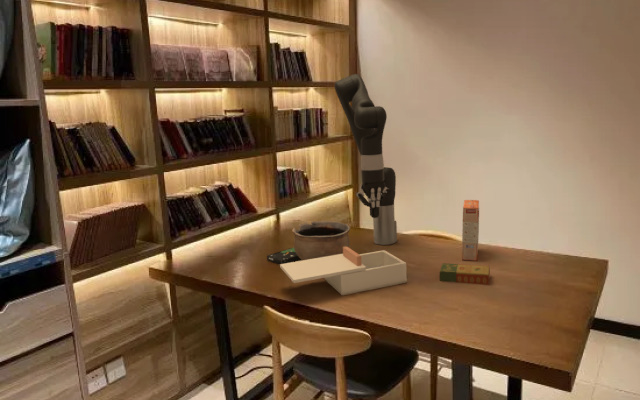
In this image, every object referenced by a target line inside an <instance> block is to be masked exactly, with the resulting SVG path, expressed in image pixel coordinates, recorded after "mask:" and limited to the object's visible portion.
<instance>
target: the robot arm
mask: <svg viewBox="0 0 640 400" xmlns="http://www.w3.org/2000/svg"><path fill="white" fill-rule="evenodd" d="M334 91H335V93H336V96H337V98H338V101H339V103H340V105H341V108H342V109H343V112H344V114H345V116H346V118H347V122H348V124H349V128H350V130H351V133H352V136H353V139H354V141H355V144H356V147H357V148H358V151H359V155H360V158H361V159H360V168H361V171H360V172H361V183H362V184H361V186H360V190H359V191H358V192H357V191H356V192H355V196H356V197H357V198H358V200H359V201H360V202H361V203H362V204H363V205H364V206H366V207H369V216H370V217H371V218H372V219H373V220H372V221H373V223H372V224H373V242H374V244H376V245H378V246H379V245H380V246H388V245H389V246H390V245H392V244H396V243H397V242H398V235H397V234H398V230H397V228H398V226H397V220H396V219H395V218H396V217H395V198H396V185H397V184H396V183H397V179H396V177H397V176H396V172H395V169H393V167H386V166H385V165H384V164H385V163H384V162H385V161H384V156H383V137H384V131H385V128H386V127H385V125H386V123H387V111H386V109H385V108H384V107H383V106H380V105H379V106H375V104H374V102H373V101H372V99H371V97H370V95H369V91H368V89H367V87H366V84H365V81H364V79H363V78H362V77H361V75H360V74H357V73H354V74H351V75H349V76H346V77H343V78H342V79H339V80H337V81H335V82H334ZM350 103H351V104H350ZM365 196H366V198H365Z"/></svg>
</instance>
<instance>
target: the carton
mask: <svg viewBox="0 0 640 400" xmlns="http://www.w3.org/2000/svg"><path fill="white" fill-rule="evenodd" d="M490 271H491V270H490V265H481V264H480V265H479V264H460V263H445V262H443V263H442V264H441V267H440V270H439V281H440V282H447V283H460V284H461V283H462V284H472V285H473V284H474V285H483V286H485V285H486V286H489V284H490Z"/></svg>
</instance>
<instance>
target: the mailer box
mask: <svg viewBox="0 0 640 400" xmlns="http://www.w3.org/2000/svg"><path fill="white" fill-rule="evenodd" d="M358 254H359V253H358ZM359 255H360V256H361V264H363V265H364V266H365V267H366V270H363V271H357V272H352V273H346V274H341V275H336V276H330V277H325V278H324V280H325V282H327V283H328V284H329V285H330V286H331V287H332V288H333V289H334V290H336V291H337V292H338V293H339V294H340V295H341V296H345V295H346V296H347V295H351V294H356V293H361V292H366V291H371V290H376V289H377V290H378V289H381V288H385V287H390V286H396V285H400V284H406V283H407V281H408V280H407V278H408V277H407V262H406V261H404V260H402V259H401V258H398V257H397V256H395V255H394V254H391V252H389V251H386V250H384V249H383V250H378V251H372V252H366V253H361V254H359Z"/></svg>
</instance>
